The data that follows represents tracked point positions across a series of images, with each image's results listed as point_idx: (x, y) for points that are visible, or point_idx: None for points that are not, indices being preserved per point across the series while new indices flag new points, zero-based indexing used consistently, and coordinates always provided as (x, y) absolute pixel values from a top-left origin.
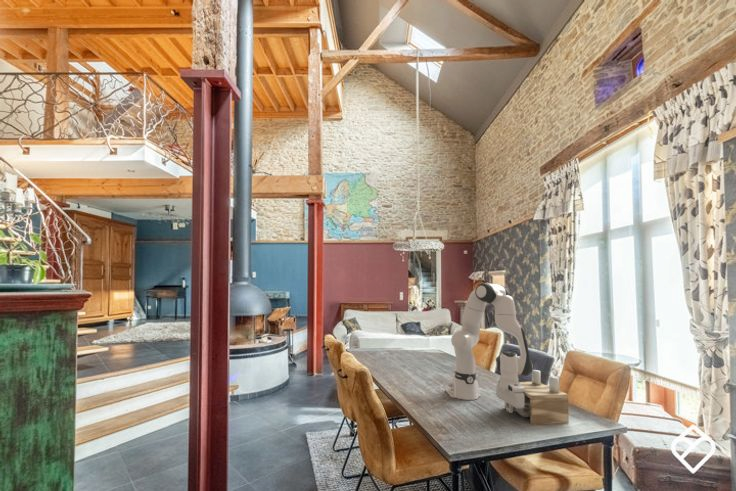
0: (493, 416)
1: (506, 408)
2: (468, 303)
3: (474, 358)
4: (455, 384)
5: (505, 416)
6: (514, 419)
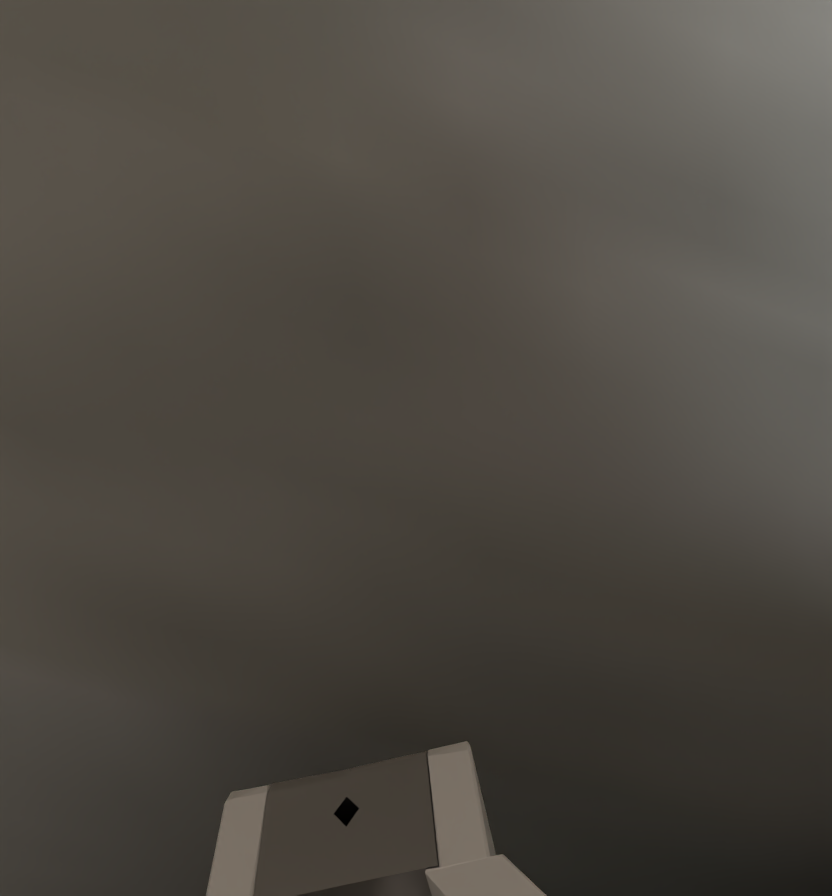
0: (281, 47)
1: (470, 820)
2: None
3: None
4: None
5: (346, 559)
6: (86, 747)
